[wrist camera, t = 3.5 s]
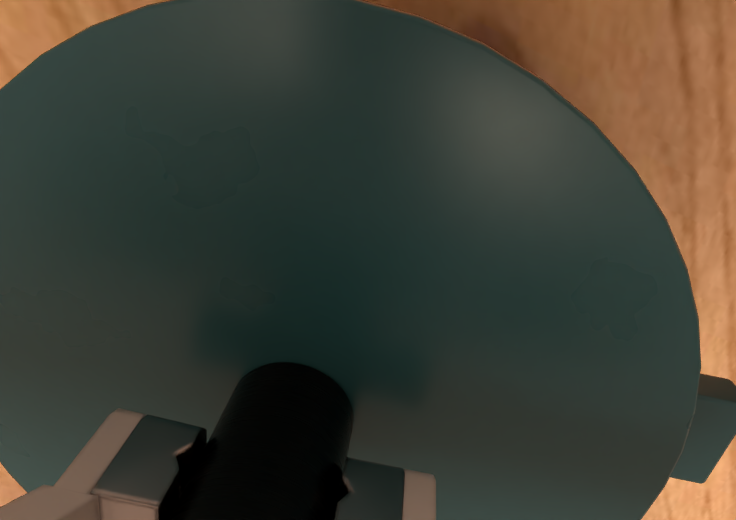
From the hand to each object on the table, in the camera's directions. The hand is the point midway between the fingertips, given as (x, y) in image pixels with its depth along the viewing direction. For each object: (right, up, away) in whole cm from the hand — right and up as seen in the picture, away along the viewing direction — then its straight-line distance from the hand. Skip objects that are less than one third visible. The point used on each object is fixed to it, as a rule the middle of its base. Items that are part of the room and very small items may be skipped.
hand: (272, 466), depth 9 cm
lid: (0, +1, +2) cm, 2 cm away
